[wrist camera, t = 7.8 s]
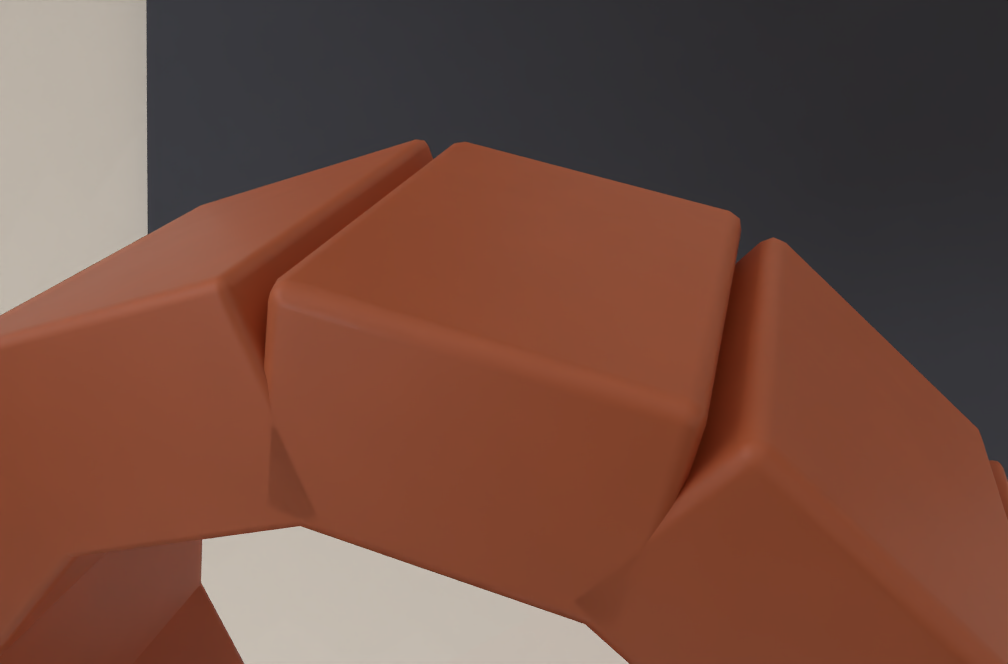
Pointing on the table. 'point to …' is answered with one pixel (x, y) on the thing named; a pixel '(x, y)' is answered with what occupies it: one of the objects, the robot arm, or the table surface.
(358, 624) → the table surface
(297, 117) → the felt mat
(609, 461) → the terracotta ring
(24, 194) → the table surface
